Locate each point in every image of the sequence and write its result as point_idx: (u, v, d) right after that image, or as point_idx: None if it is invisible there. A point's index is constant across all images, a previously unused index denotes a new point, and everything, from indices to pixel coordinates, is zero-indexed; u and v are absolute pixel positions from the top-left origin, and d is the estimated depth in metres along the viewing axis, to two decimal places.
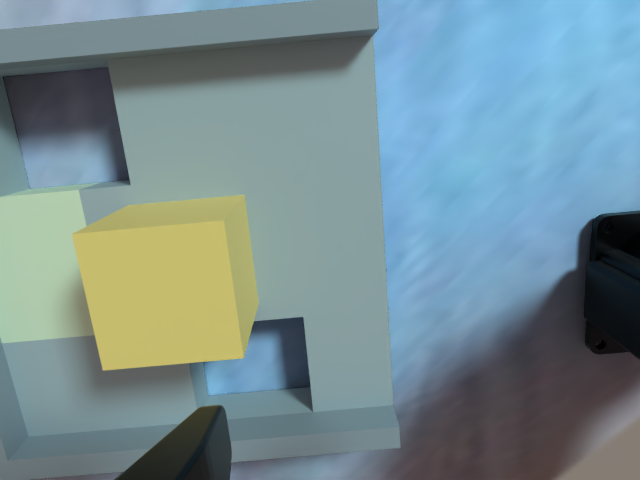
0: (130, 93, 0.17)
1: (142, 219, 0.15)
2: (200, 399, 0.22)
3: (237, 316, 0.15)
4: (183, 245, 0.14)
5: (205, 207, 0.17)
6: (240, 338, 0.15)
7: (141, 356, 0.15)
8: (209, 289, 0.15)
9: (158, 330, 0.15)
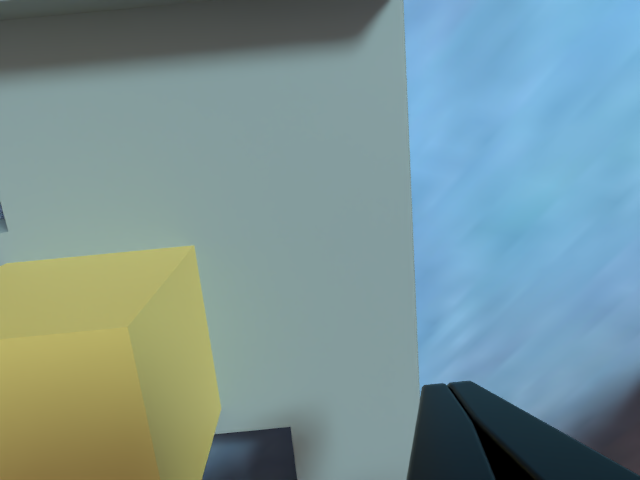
0: None
1: None
2: None
3: None
4: (51, 373, 0.07)
5: (117, 278, 0.10)
6: None
7: None
8: (106, 451, 0.08)
9: None
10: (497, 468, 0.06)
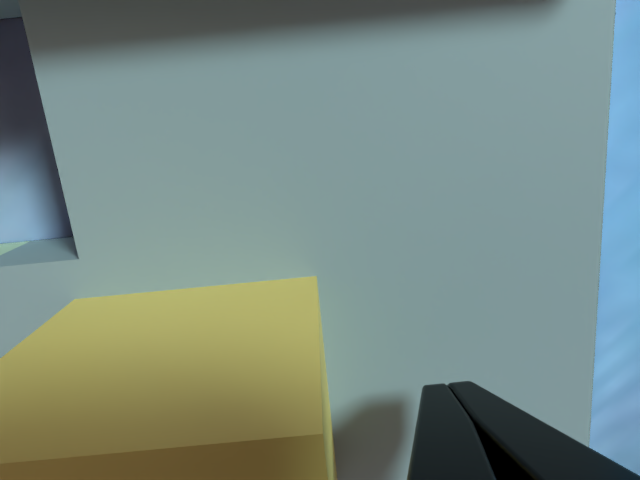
0: (71, 63, 0.08)
1: (84, 386, 0.06)
2: None
3: None
4: None
5: (244, 330, 0.07)
6: None
7: None
8: None
9: None
10: (497, 468, 0.06)
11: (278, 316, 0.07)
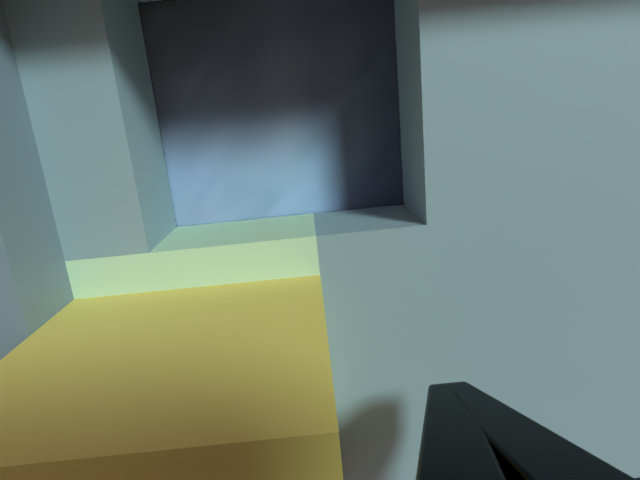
0: (457, 24, 0.08)
1: (91, 387, 0.06)
2: None
3: None
4: None
5: (251, 329, 0.07)
6: None
7: None
8: None
9: None
10: None
11: (284, 315, 0.07)
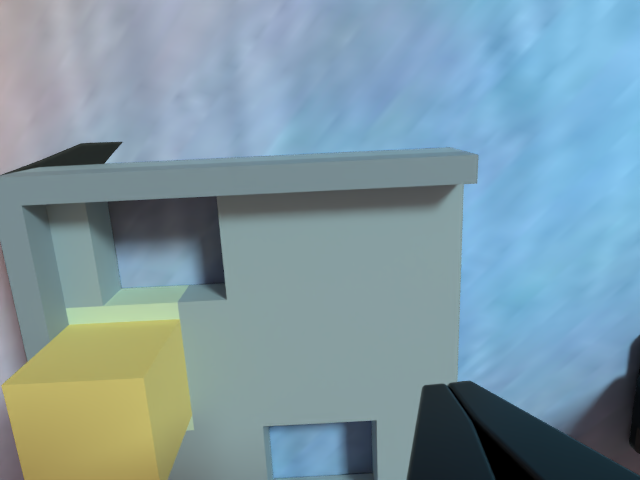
0: (234, 219, 0.19)
1: (72, 362, 0.17)
2: None
3: (156, 459, 0.16)
4: (106, 397, 0.16)
5: (136, 343, 0.18)
6: (158, 477, 0.16)
7: None
8: (129, 436, 0.16)
9: (82, 469, 0.16)
10: (497, 468, 0.06)
11: (152, 338, 0.18)
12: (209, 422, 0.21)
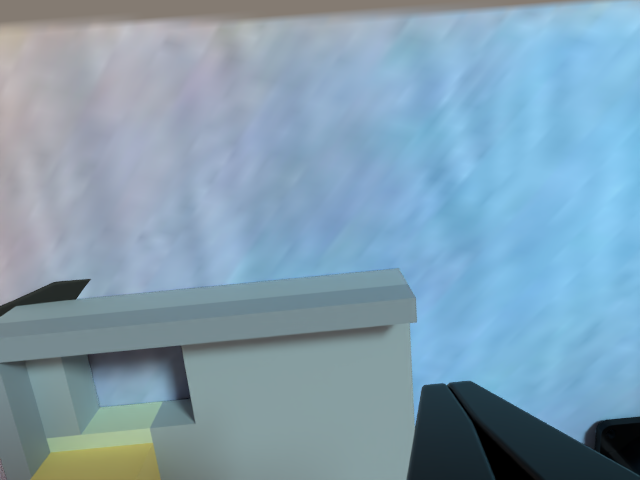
0: (197, 354, 0.20)
1: None
2: None
3: None
4: None
5: (110, 479, 0.19)
6: None
7: None
8: None
9: None
10: (497, 468, 0.06)
11: (125, 471, 0.20)
12: None
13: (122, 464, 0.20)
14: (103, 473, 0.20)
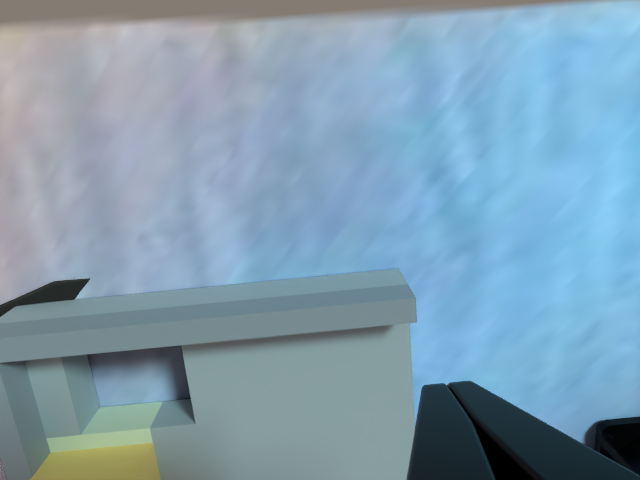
0: (197, 354, 0.20)
1: None
2: None
3: None
4: None
5: (110, 479, 0.19)
6: None
7: None
8: None
9: None
10: (497, 468, 0.06)
11: (125, 471, 0.20)
12: None
13: (122, 464, 0.20)
14: (103, 473, 0.20)
